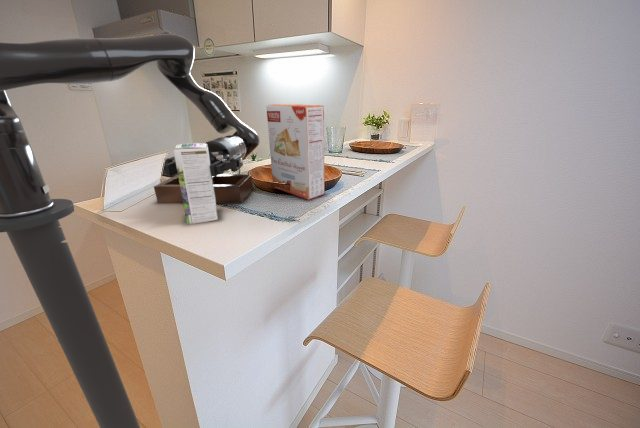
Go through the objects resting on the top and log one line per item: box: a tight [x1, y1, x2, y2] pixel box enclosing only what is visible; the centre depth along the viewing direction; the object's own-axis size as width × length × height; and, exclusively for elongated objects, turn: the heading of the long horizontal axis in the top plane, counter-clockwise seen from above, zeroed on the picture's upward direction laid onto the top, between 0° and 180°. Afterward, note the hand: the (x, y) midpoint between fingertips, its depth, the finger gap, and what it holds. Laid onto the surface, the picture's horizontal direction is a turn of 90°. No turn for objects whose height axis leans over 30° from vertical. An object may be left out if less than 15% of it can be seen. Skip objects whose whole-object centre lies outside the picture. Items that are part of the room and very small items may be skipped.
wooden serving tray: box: [153, 174, 254, 204], centre depth 70 cm, size 20×11×4 cm, turn 88°
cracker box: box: [265, 103, 326, 201], centre depth 69 cm, size 14×6×21 cm, turn 45°
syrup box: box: [173, 142, 219, 225], centre depth 55 cm, size 6×6×14 cm
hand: (190, 171), depth 52 cm, fingers open, 8 cm apart
